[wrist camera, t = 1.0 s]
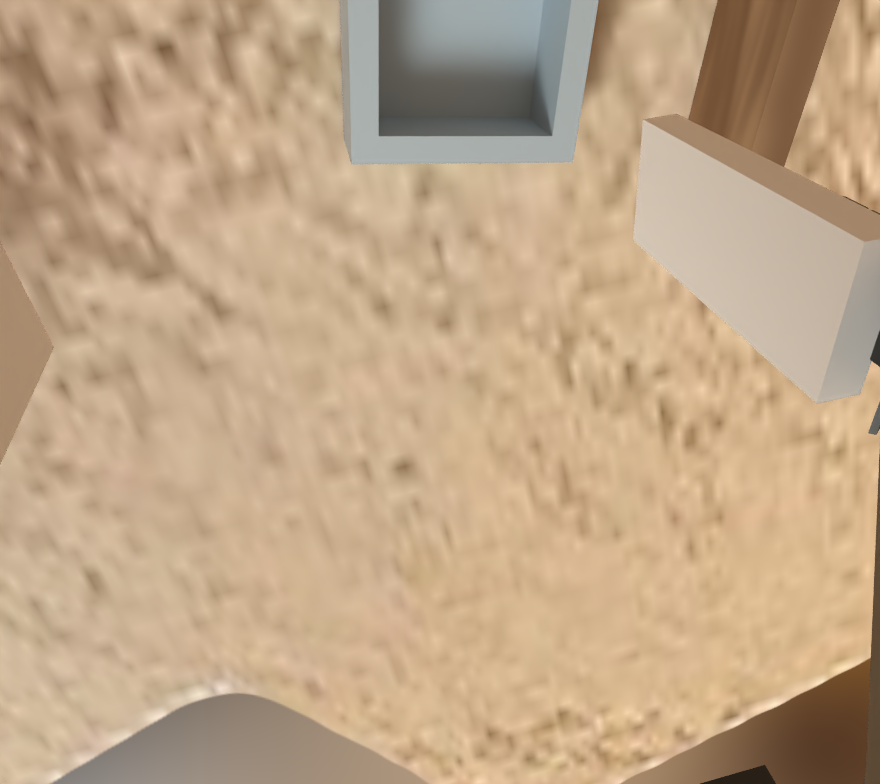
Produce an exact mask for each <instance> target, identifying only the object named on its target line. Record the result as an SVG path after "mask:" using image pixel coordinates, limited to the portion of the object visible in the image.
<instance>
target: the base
mask: <svg viewBox="0 0 880 784" xmlns="http://www.w3.org/2000/svg"><path fill="white" fill-rule="evenodd" d="M839 1H840V0H718V2H717V6H716V10H715V14H714V18H713V22H712V26H711V31H710V35H709V39H708V43H707V47H706V51H705V55H704V59H703V63H702V67H701V71H700V75H699V79H698V83H697V87H696V91H695V95H694V100H693V104H692V108H691V112H690V116H689V120H690V121H692V122H694V123H696V124H698V125H700V126H702V127H704V128H706V129H708V130H710V131H712V132H714V133H716V134H718V135H720V136H722V137H724V138H726V139H728V140H730V141H732V142H734V143H736V144H738V145H740V146H742V147H744V148H746V149H748V150H750V151H752V152H754V153H756V154H758V155H760V156H762V157H764V158H767V159H769V160H771V161H773V162H775V163H777V164H779V165H781V166H783V167H784V165H785V162H786V159H787V156H788V153H789V150H790V147H791V144H792V141H793V138H794V135H795V132H796V129H797V126H798V123H799V121H800V118H801V115H802V112H803V109H804V106H805V103H806V100H807V97H808V94H809V91H810V88H811V85H812V82H813V79H814V76H815V73H816V70H817V67H818V64H819V61H820V58H821V55H822V52H823V49H824V46H825V43H826V40H827V37H828V34H829V31H830V28H831V25H832V22H833V19H834V16H835V13H836V10H837V7H838V4H839Z"/></svg>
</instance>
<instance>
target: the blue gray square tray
mask: <svg viewBox="0 0 880 784" xmlns="http://www.w3.org/2000/svg"><path fill="white" fill-rule="evenodd" d="M598 2H599V0H340V23H341V57H342V92H343V127H344V141H345V144H346V148H347V151H348V154H349V157H350V161H351V164H446V163H556V162H573V158H574V152H575V146H576V140H577V133H578V127H579V121H580V114H581V108H582V102H583V96H584V89H585V83H586V77H587V71H588V64H589V58H590V52H591V45H592V39H593V33H594V27H595V20H596V14H597V8H598Z"/></svg>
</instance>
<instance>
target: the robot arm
mask: <svg viewBox="0 0 880 784" xmlns="http://www.w3.org/2000/svg"><path fill="white" fill-rule="evenodd" d="M633 241H634V242H635V243H636V244H638V245H639V246H640V247H641V248H642V249H643V250H644V251H645V252H647V253H648V254H649V255H650V256H651V257H652V258H653V259H654V260H656V261H657V262H658V263H659V264H660V265H661V266H662V267H663V268H665V269H666V270H667V271H668V272H669V273H670V274H671V275H672V276H674V277H675V278H676V279H677V280H678V281H679V282H680V283H681V284H683V285H684V286H685V287H686V288H687V289H688V290H689V291H690V292H692V293H693V294H694V295H695V296H696V297H697V298H698V299H699V300H701V301H702V302H703V303H704V304H705V305H706V306H707V307H708V308H710V309H711V310H712V311H713V312H714V313H715V314H716V315H717V316H719V317H720V318H721V319H722V320H723V321H724V322H725V323H726V324H728V325H729V326H730V327H731V328H732V329H733V330H734V331H735V332H736V333H738V334H739V335H740V336H741V337H742V338H743V339H744V340H745V341H747V342H748V343H749V344H750V345H751V346H752V347H753V348H754V349H756V350H757V351H758V352H759V353H760V354H761V355H762V356H763V357H765V358H766V359H767V360H768V361H769V362H770V363H771V364H772V365H774V366H775V367H776V368H777V369H778V370H779V371H780V372H781V373H783V374H784V375H785V376H786V377H787V378H788V379H789V380H790V381H792V382H793V383H794V384H795V385H796V386H797V387H798V388H799V389H801V390H802V391H803V392H804V393H805V394H806V395H807V396H808V397H810V398H811V399H812V400H813V401H814V402H815V403H816V404H818V403H823V402H827V401H832V400H836V399H841V398H845V397H850V396H855V395H859V394H860V393H861V390H862V387H863V385H864V382H865V379H866V376H867V373H868V370H869V367H870V364H871V361H873V362H874V363H875V364H877V365H878V366H879V367H880V213H878V212H875V211H873V210H869V209H868V208H867V207H865V206H863V205H861V204H859V203H857V202H855V201H853V200H851V199H849V198H847V197H844V196H841V195H839V194H837V193H835V192H833V191H831V190H829V189H827V188H825V187H823V186H821V185H819V184H817V183H815V182H813V181H811V180H809V179H807V178H805V177H803V176H801V175H799V174H797V173H795V172H793V171H791V170H789V169H787V168H785V167H783V166H781V165H779V164H777V163H775V162H773V161H771V160H769V159H767V158H764V157H762V156H760V155H758V154H756V153H754V152H752V151H750V150H748V149H746V148H744V147H742V146H740V145H738V144H736V143H734V142H732V141H730V140H728V139H726V138H724V137H722V136H720V135H718V134H716V133H714V132H712V131H710V130H708V129H706V128H704V127H702V126H700V125H698V124H696V123H694V122H692V121H690V120H688V119H686V118H684V117H682V116H680V115H678V114H674V115H667V116H661V117H655V118H649V119H643V127H642V139H641V152H640V164H639V176H638V188H637V201H636V213H635V225H634V237H633ZM53 348H54V347H53V345H52V343H51V341H50V339H49V337H48V335H47V333H46V331H45V329H44V327H43V325H42V323H41V321H40V319H39V317H38V315H37V313H36V311H35V309H34V307H33V305H32V303H31V301H30V299H29V297H28V295H27V293H26V291H25V290H24V288H23V286H22V284H21V282H20V280H19V278H18V276H17V274H16V272H15V270H14V268H13V266H12V264H11V262H10V260H9V258H8V256H7V254H6V252H5V250H4V248H3V246H2V244H1V242H0V464H1V462H2V459H3V457H4V455H5V453H6V451H7V448H8V446H9V444H10V442H11V440H12V438H13V435H14V433H15V431H16V429H17V427H18V424H19V422H20V420H21V418H22V416H23V413H24V411H25V409H26V407H27V405H28V403H29V400H30V398H31V396H32V394H33V392H34V389H35V387H36V385H37V383H38V381H39V378H40V376H41V374H42V372H43V370H44V367H45V365H46V363H47V361H48V359H49V357H50V354H51V352H52V350H53ZM879 429H880V402H879V405H878V408H877V411H876V413H875V416H874V419H873V422H872V424H871V427H870V430H869V433H870V434H874V435H876V434H877V433H878V431H879ZM869 693H870V694H869V715H868V738H867V762H866V772H865V779H864V784H880V456H879V479H878V503H877V526H876V550H875V573H874V597H873V620H872V644H871V669H870V691H869ZM701 784H776V783H775V781H774V780H773V778H772V776H771V775H770V773H769V771H768V770H767V768H766V766H765V765H763V766H760V767H756V768H753V769H750V770H746V771H742V772H739V773H735V774H732V775H729V776H725V777H722V778H718V779H715V780H711V781H708V782H704V783H701Z"/></svg>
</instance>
